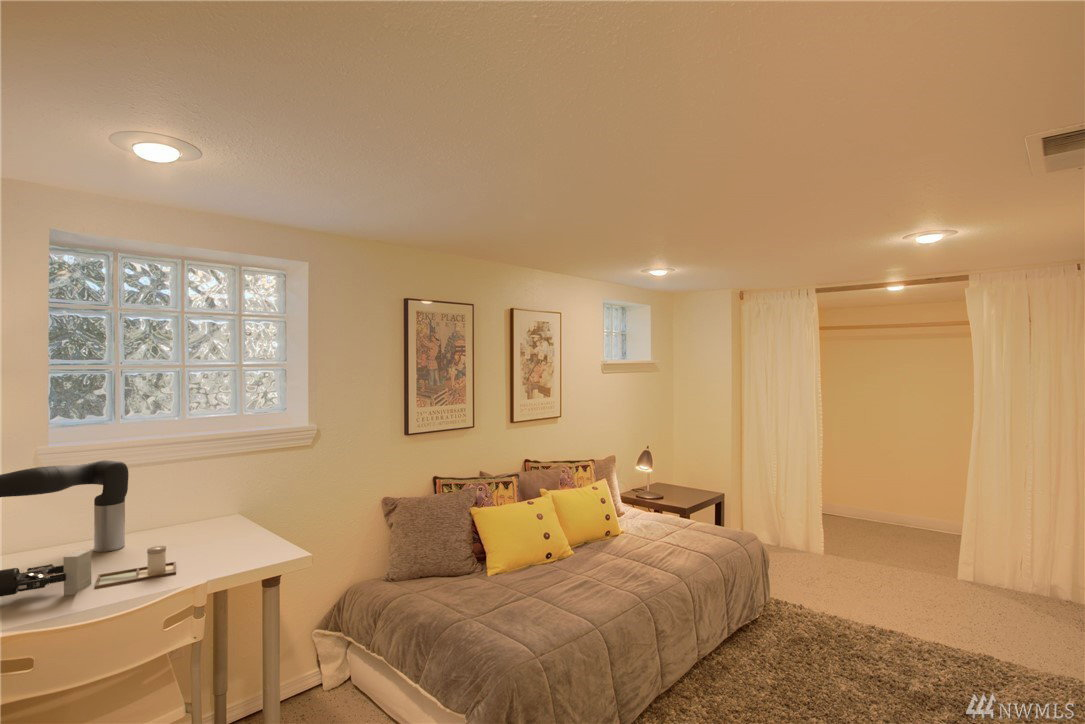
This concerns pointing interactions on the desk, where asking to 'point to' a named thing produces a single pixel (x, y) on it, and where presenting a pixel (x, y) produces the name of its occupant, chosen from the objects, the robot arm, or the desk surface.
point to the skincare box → (77, 571)
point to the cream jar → (156, 560)
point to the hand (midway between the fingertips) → (68, 572)
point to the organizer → (131, 576)
